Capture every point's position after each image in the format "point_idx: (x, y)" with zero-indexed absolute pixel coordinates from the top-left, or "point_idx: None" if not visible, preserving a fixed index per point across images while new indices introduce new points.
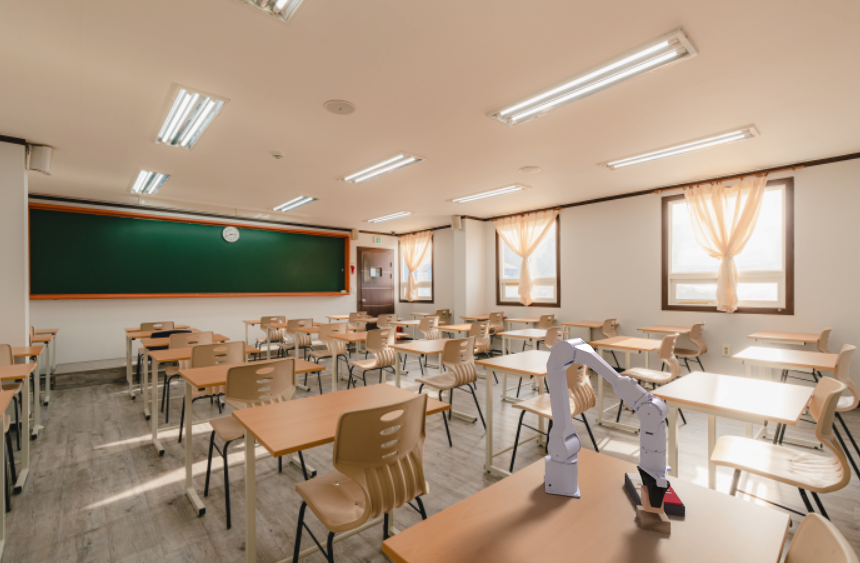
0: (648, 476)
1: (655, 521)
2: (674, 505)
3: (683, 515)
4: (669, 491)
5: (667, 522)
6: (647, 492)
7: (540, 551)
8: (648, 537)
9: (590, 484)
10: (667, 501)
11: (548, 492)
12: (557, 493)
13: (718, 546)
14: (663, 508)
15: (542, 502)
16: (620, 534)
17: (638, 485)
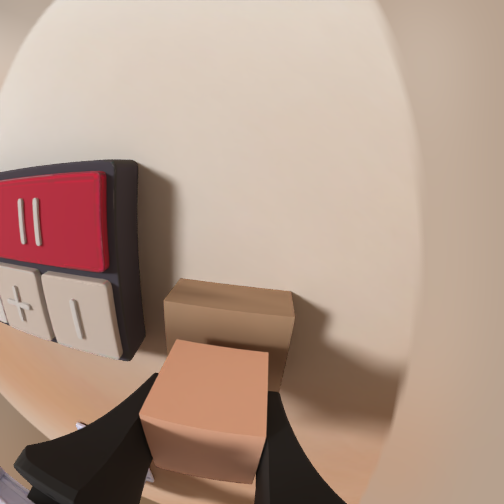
0: (127, 494)
1: (284, 367)
2: (111, 215)
3: (135, 169)
4: (25, 202)
5: (292, 327)
6: (242, 478)
7: (353, 498)
8: (322, 374)
9: (59, 393)
10: (98, 249)
11: (153, 479)
12: (149, 472)
13: (362, 127)
14: (267, 372)
15: (195, 491)
16: (308, 428)
17: (30, 320)
